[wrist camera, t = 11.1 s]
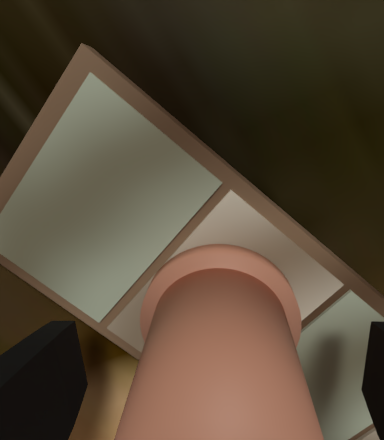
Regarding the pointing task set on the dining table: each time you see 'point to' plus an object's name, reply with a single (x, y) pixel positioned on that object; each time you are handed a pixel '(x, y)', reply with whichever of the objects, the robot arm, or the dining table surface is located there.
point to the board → (166, 229)
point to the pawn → (219, 353)
